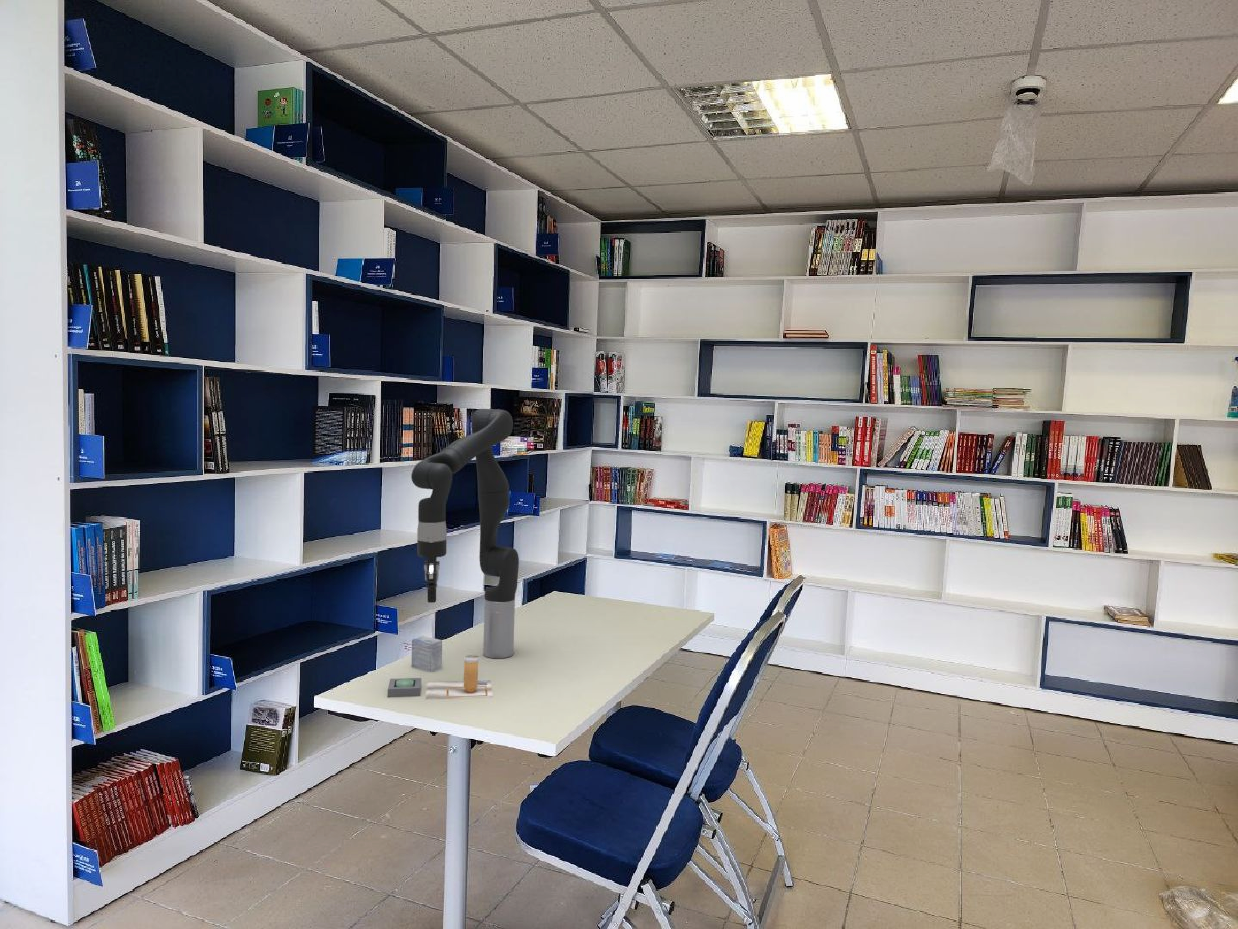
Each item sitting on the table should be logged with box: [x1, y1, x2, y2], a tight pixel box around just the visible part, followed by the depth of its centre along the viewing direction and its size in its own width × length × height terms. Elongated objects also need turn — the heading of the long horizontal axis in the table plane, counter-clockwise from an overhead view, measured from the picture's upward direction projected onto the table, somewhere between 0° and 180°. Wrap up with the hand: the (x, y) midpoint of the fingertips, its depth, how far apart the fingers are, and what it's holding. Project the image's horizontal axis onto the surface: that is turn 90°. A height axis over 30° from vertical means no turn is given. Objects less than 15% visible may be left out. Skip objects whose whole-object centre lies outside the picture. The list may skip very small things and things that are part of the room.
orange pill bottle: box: [463, 654, 479, 692], centre depth 212 cm, size 4×4×9 cm
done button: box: [396, 679, 414, 687], centre depth 210 cm, size 4×4×2 cm
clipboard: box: [425, 679, 494, 700], centre depth 213 cm, size 14×19×1 cm
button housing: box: [387, 677, 422, 698], centre depth 210 cm, size 8×8×2 cm
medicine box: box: [411, 635, 443, 673], centre depth 230 cm, size 8×4×9 cm, turn 60°
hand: (431, 601), depth 214 cm, fingers closed
